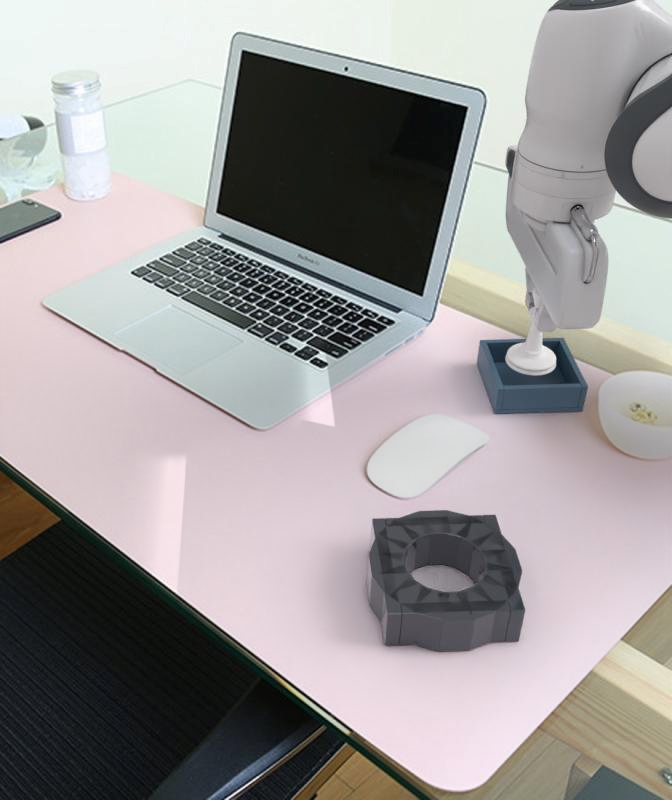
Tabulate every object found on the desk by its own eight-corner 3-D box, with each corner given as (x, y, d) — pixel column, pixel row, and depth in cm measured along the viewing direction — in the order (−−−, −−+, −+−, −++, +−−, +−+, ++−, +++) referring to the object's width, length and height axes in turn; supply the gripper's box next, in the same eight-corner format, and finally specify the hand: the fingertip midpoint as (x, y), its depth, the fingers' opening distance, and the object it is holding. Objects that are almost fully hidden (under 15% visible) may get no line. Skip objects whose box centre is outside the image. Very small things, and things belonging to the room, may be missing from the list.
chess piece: (552, 379, 92) (570, 290, 86) (501, 370, 94) (516, 281, 88) (558, 353, 96) (576, 265, 90) (509, 344, 97) (524, 257, 91)
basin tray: (558, 361, 100) (563, 337, 98) (582, 411, 93) (588, 386, 91) (476, 363, 100) (479, 339, 98) (494, 414, 93) (498, 389, 91)
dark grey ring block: (497, 538, 79) (502, 507, 77) (530, 648, 70) (537, 617, 68) (360, 543, 79) (362, 512, 77) (376, 654, 70) (379, 622, 68)
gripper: (639, 237, 75) (605, 379, 84) (567, 139, 92) (545, 266, 100) (560, 239, 75) (533, 381, 83) (502, 141, 92) (485, 268, 100)
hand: (539, 318), depth 92 cm, fingers closed on chess piece
